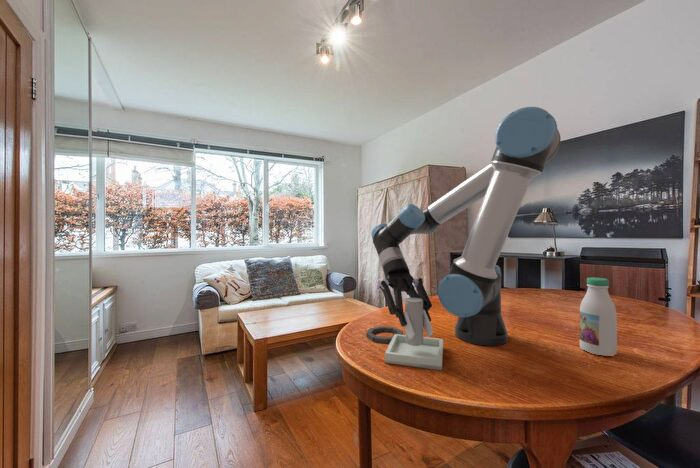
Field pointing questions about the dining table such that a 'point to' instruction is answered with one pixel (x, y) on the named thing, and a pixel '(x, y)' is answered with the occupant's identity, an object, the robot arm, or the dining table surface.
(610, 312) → the milk bottle
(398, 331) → the seat ring
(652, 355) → the dining table surface
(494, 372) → the dining table surface
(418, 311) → the beverage can
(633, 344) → the dining table surface
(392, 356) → the tray
